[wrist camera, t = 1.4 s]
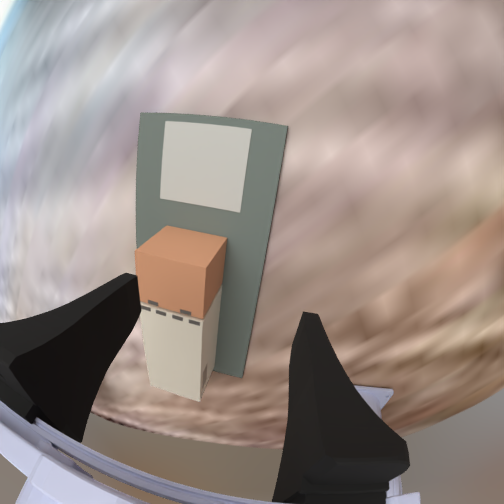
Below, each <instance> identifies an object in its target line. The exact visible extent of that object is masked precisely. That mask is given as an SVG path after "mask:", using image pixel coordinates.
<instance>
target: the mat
mask: <svg viewBox="0 0 504 504" xmlns="http://www.w3.org/2000/svg"><path fill="white" fill-rule="evenodd" d="M287 129H288V126H285V125H279V124H273V123H266V122H259V121H252V120H244V119H236V118H227V117H217V116H206V115H193V114H175V113H140V124H139V136H138V151H137V172H136V244H137V249H138V248H139V247H140V246H141V245H143V244H144V243H145V242H146V241H148V240H149V239H150V238H151V237H153V236H154V235H155V234H156V233H158V232H159V231H160V230H161V229H163V228H164V227H165V226H167V225H168V226H172V227H177V228H182V229H187V230H192V231H197V232H202V233H207V234H212V235H217V236H222V237H227V245H226V254H225V263H224V272H223V281H222V284H221V285H222V293H221V303H220V313H219V323H218V334H217V345H216V356H215V366H214V368H213V371H216V372H220V373H224V374H227V375H231V376H235V377H240V378H242V376H243V371H244V366H245V361H246V356H247V351H248V346H249V341H250V335H251V330H252V325H253V320H254V314H255V309H256V304H257V299H258V293H259V288H260V282H261V277H262V272H263V266H264V261H265V255H266V250H267V244H268V239H269V233H270V227H271V222H272V216H273V211H274V205H275V199H276V193H277V188H278V182H279V176H280V170H281V164H282V158H283V153H284V147H285V141H286V135H287ZM140 302H141V301H140Z"/></svg>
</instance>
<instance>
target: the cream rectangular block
mask: <svg viewBox="0 0 504 504" xmlns="http://www.w3.org/2000/svg"><path fill="white" fill-rule="evenodd" d="M221 293H222V285H221V286H220V288H219V290H218V292H217V294H216V295H215V297H214V299H213V301H212V303H211V305H210V307H209V309H208V310H207V312H206V314H205V316H204V318H203V319H201V318H197V317H193V316H190V315H186V314H182V313H179V312H175V311H172V310H168V309H165V308H162V307H158V306H155V305H152V304H148V303H145V302H142V301H141V310H142V311H141V313H140V320H141V329H142V336H143V343H144V350H145V357H146V363H147V369H148V375H149V380H150V385H151V386H153V387H156V388H159V389H162V390H165V391H168V392H170V393H173V394H176V395H179V396H183V397H186V398H189V399H192V400H195V401H199V402H200V400H201V398H202V396H203V393H204V391H205V388H206V386H207V383H208V381H209V378H210V376H211V373H212V371H213V368H214V366H215V356H216V345H217V334H218V323H219V313H220V303H221Z"/></svg>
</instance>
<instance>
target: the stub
mask: <svg viewBox="0 0 504 504" xmlns="http://www.w3.org/2000/svg"><path fill="white" fill-rule="evenodd" d="M226 245H227V237H222V236H217V235H212V234H207V233H202V232H197V231H192V230H187V229H182V228H177V227H172V226H168V225H167V226H165V227H164V228H163V229H161V230H160V231H159V232H158V233H156V234H155V235H154V236H153V237H151V238H150V239H149V240H148V241H146V242H145V243H144V244H143V245H141V246H140V247H139V248H138V249H136V250H135V264H136V275H137V276H138V286H139V294H140V301H142V302H145V303H148V304H152V305H155V306H158V307H162V308H165V309H168V310H172V311H175V312H179V313H182V314H186V315H190V316H193V317H197V318H201V319H203V318H204V316H205V314H206V312H207V310H208V309H209V307H210V305H211V303H212V301H213V299H214V297H215V295H216V294H217V292H218V290H219V288H220V286H221V284H222V281H223V272H224V263H225V254H226Z"/></svg>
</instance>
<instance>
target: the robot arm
mask: <svg viewBox="0 0 504 504" xmlns="http://www.w3.org/2000/svg"><path fill="white" fill-rule="evenodd" d="M141 311H142V310H141V302H140V294H139V286H138V276H137V275H133V274H129V273H124V274H122V275H120V276H118V277H116V278H115V279H113V280H111V281H109V282H107V283H106V284H104V285H102V286H100V287H98V288H97V289H95V290H93V291H91V292H89V293H88V294H86V295H84V296H82V297H80V298H78V299H76V300H74V301H72V302H70V303H68V304H66V305H63V306H61V307H59V308H56V309H54V310H51V311H48V312H45V313H42V314H39V315H36V316H33V317H30V318H26V319H22V320H17V321H12V322H6V323H0V453H1V454H2V455H3V456H4V457H5V458H6V459H7V460H8V461H9V462H11V463H12V464H13V465H14V466H15V467H16V468H18V469H19V470H20V471H21V472H22V473H24V474H25V475H26V476H27V477H28V478H27V480H26V482H25V484H24V486H23V488H22V490H21V493H20V495H19V497H18V499H17V501H16V503H15V504H150V503H147V502H144V501H142V500H139V499H137V498H134V497H132V496H130V495H127V494H125V493H123V492H120V491H118V490H116V489H114V488H111V487H109V486H107V485H105V484H103V483H101V482H99V481H97V480H94V479H93V477H92V475H90V474H89V473H87V472H86V471H84V470H83V469H82V468H80V467H79V466H78V465H77V464H76V463H75V462H74V461H73V460H71V459H70V458H68V457H67V456H65V455H64V454H62V453H61V452H59V451H58V449H59V450H60V451H62V452H64V453H65V454H67V455H69V456H70V457H72V458H74V459H76V460H78V461H79V462H81V463H83V464H85V465H87V466H89V467H91V468H93V469H95V470H97V471H99V472H101V473H103V474H105V475H107V476H109V477H111V478H114V479H116V480H118V481H120V482H123V483H125V484H128V485H130V486H133V487H135V488H138V489H140V490H143V491H145V492H148V493H151V494H154V495H157V496H160V497H163V498H166V499H169V500H172V501H175V502H179V503H182V504H421V503H420V493H419V492H413V493H407V494H402V484H401V477H400V475H401V474H402V473H404V472H405V471H406V470H407V469H408V468H409V466H410V462H409V452H408V448H407V444H406V441H405V440H404V439H402V438H401V437H400V436H399V435H398V434H397V433H395V432H394V431H393V430H392V429H391V428H390V427H389V426H387V425H386V424H385V423H384V422H383V420H382V417H381V409H382V408H383V407H384V405H385V404H386V403H387V402H388V400H389V399H390V398H391V396H392V395H393V393H394V392H393V389H387V388H375V387H365V386H356V385H353V384H352V382H351V381H350V379H349V377H348V376H347V374H346V372H345V371H344V369H343V367H342V365H341V364H340V362H339V360H338V358H337V356H336V354H335V352H334V350H333V348H332V346H331V344H330V341H329V339H328V337H327V335H326V332H325V330H324V327H323V325H322V322H321V320H320V317H319V315H318V314H314V313H308V312H303V314H302V317H301V320H300V323H299V326H298V329H297V332H296V335H295V338H294V341H293V344H292V349H291V356H290V364H289V407H288V421H287V428H286V435H285V441H284V447H283V453H282V458H281V463H280V468H279V473H278V478H277V482H276V487H275V491H274V496H273V499H272V502H267V501H259V500H252V499H245V498H239V497H233V496H228V495H223V494H218V493H213V492H209V491H205V490H201V489H196V488H192V487H189V486H186V485H182V484H179V483H175V482H172V481H169V480H165V479H163V478H160V477H157V476H153V475H151V474H148V473H145V472H143V471H140V470H137V469H135V468H132V467H130V466H127V465H125V464H123V463H120V462H118V461H116V460H113V459H111V458H109V457H107V456H105V455H103V454H100V453H98V452H96V451H94V450H92V449H90V448H88V447H86V446H84V445H83V444H81V442H82V439H83V435H84V431H85V427H86V424H87V420H88V417H89V414H90V411H91V408H92V405H93V402H94V400H95V397H96V395H97V392H98V390H99V387H100V385H101V383H102V380H103V378H104V376H105V374H106V372H107V370H108V368H109V366H110V364H111V363H112V361H113V360H114V358H115V357H116V355H117V353H118V352H119V350H120V349H121V347H122V346H123V344H124V343H125V341H126V339H127V338H128V336H129V335H130V333H131V332H132V330H133V328H134V326H135V324H136V322H137V320H138V318H139V315H140V313H141Z"/></svg>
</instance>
